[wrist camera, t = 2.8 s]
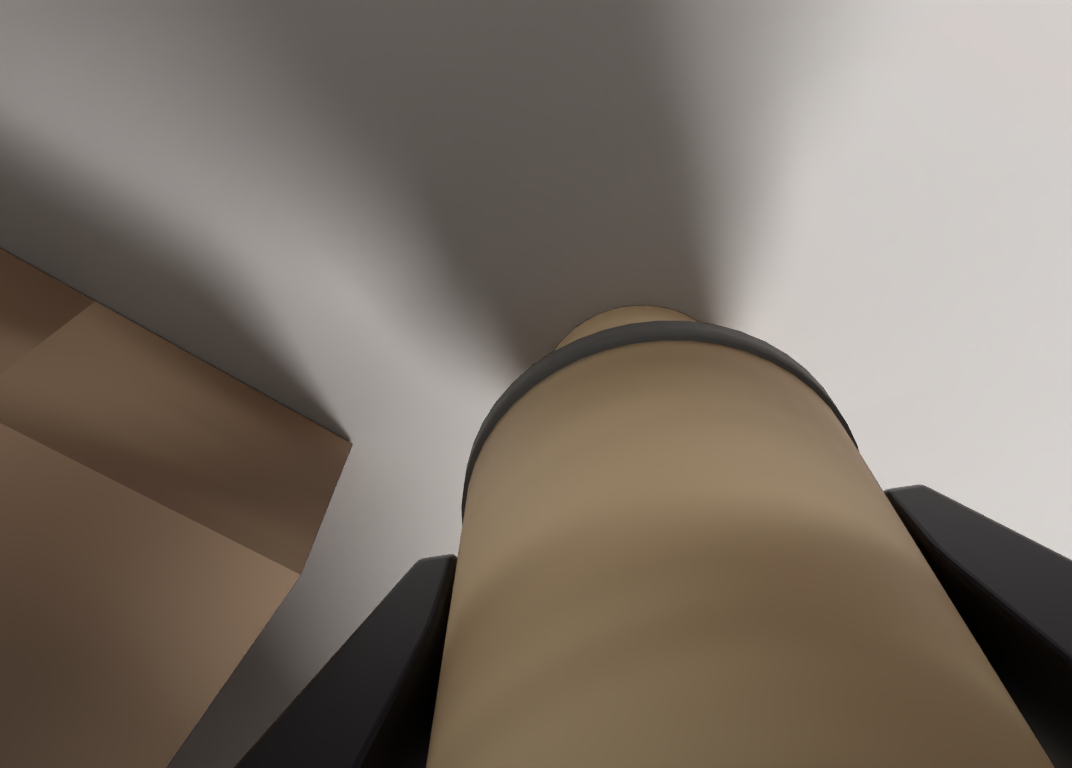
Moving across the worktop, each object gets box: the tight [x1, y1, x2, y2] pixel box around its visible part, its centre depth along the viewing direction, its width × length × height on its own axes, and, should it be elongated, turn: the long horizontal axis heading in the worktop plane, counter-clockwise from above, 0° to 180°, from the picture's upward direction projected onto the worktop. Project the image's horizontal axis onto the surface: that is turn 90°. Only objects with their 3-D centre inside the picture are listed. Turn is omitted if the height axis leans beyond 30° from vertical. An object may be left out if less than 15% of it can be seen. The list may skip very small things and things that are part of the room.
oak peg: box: [426, 306, 1055, 768], centre depth 8 cm, size 4×4×9 cm
